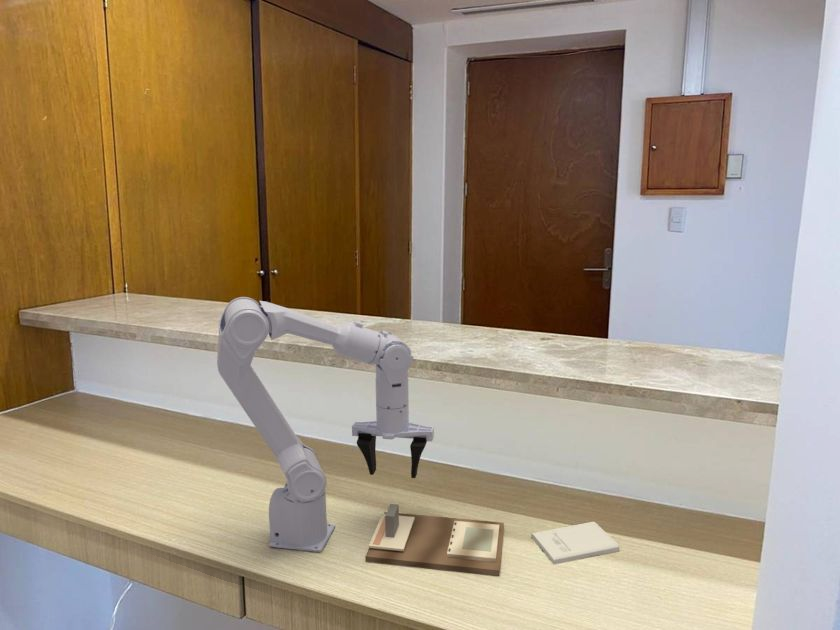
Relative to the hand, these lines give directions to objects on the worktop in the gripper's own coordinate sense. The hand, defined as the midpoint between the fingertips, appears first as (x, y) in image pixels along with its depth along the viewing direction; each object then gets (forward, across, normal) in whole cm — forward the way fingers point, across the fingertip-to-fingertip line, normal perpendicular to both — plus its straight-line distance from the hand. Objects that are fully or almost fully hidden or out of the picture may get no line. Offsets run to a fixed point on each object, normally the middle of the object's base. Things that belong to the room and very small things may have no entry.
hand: (393, 473), depth 115 cm
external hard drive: (+10, +32, -2) cm, 34 cm away
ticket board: (+9, +9, -6) cm, 14 cm away
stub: (+8, +1, -6) cm, 10 cm away
